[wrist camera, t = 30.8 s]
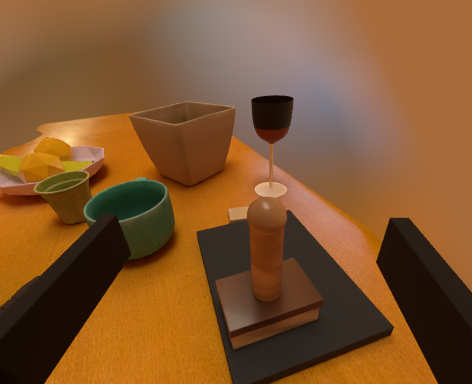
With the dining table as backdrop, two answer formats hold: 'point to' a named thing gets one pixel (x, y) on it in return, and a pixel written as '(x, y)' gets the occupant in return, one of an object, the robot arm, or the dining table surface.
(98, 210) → the mug
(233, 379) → the mat
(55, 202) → the plant pot
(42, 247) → the dining table surface
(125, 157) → the dining table surface
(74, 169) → the fruit bowl
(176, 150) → the flower pot
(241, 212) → the tan square block
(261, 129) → the wineglass
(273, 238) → the brush
